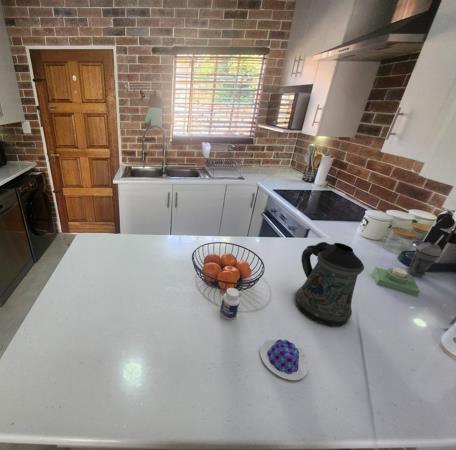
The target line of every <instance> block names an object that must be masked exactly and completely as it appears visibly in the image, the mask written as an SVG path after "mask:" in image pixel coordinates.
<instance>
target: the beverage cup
mask: <svg viewBox="0 0 456 450" xmlns="http://www.w3.org/2000/svg"><path fill="white" fill-rule="evenodd" d="M444 237H445V235H444V234H442V235H441V236H440V237H439V239H438V240H437V241H436V242H435V243H434V242H430V241H428V242H423V243H420V244H419V245H418V246H417V247H416V248H415V252H414V255H413V257H412V259H411V261H410V264H409V266H408V268H407V271H406V272H407V275H409V276H411V277H413V278H417V277H418V278H419V279H420V278H422V277H423V275H425V273H426V272H428V270H429V269H430V267H432V266H433V264H434V263H435V262H436V261H437V260H438V259H439V258H440V257H441V255H442V248H441V247H440V246H439V242H440V241H441V240H442V239H443V238H444ZM418 278H417V279H418Z"/></svg>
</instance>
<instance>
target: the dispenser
mask: <svg viewBox="0 0 456 450" xmlns="http://www.w3.org/2000/svg"><path fill="white" fill-rule="evenodd" d="M393 269H394V268H388V269H385V268H381V267H378V266H374V268H373V270H372V272H371V278H372V279H373V280H374V282H375V285H377V286H381V287H383V288H387V289H390V290H392V291H393V290H394V291H397V292H400V293H404V294H407V295H410V296H414V297H418V295H419V294H420V293H421V290H420V289H419V286H418V284H417V282H416V281H415V277H413V276H411V275H409V274H407V275H406V277H405V278H401V277H398V276H395V275H394V274H392V271H393Z"/></svg>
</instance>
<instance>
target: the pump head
mask: <svg viewBox="0 0 456 450" xmlns="http://www.w3.org/2000/svg"><path fill="white" fill-rule="evenodd" d="M392 269H393V271H392V274H394V275H395V276H398V277H401V278H405V277H406V275H408V273H407V271H406V270H405V269H403V268H399V267H394V268H392Z"/></svg>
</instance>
